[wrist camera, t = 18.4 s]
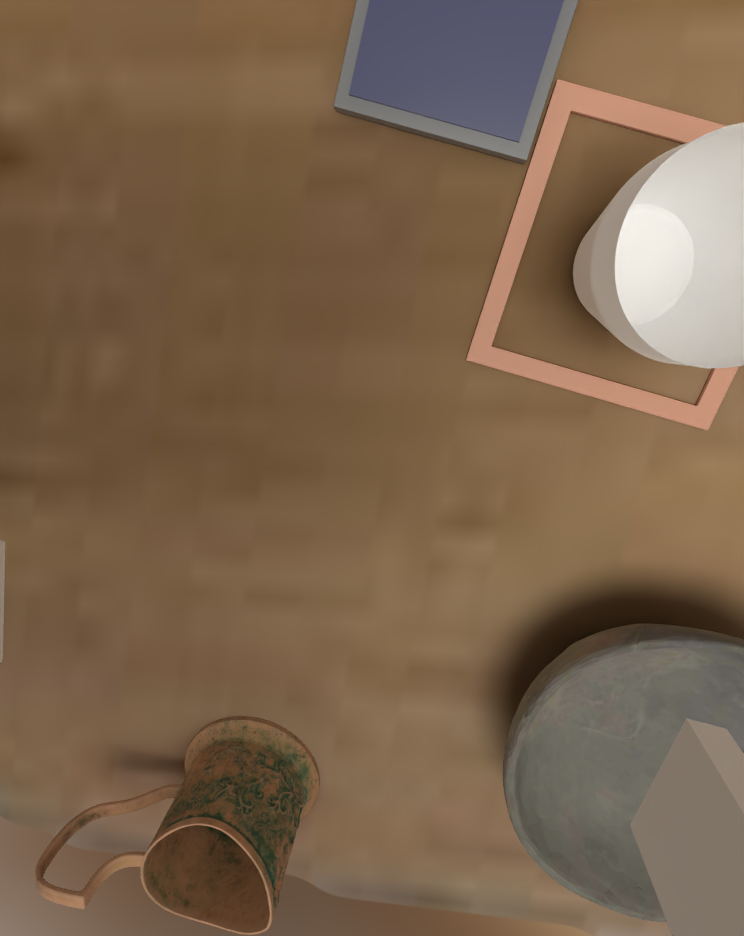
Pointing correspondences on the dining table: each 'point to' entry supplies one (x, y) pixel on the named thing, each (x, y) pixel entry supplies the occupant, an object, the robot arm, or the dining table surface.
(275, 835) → the mug
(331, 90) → the dining table surface
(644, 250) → the cup
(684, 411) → the mark frame
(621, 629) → the bowl
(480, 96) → the ink pad
